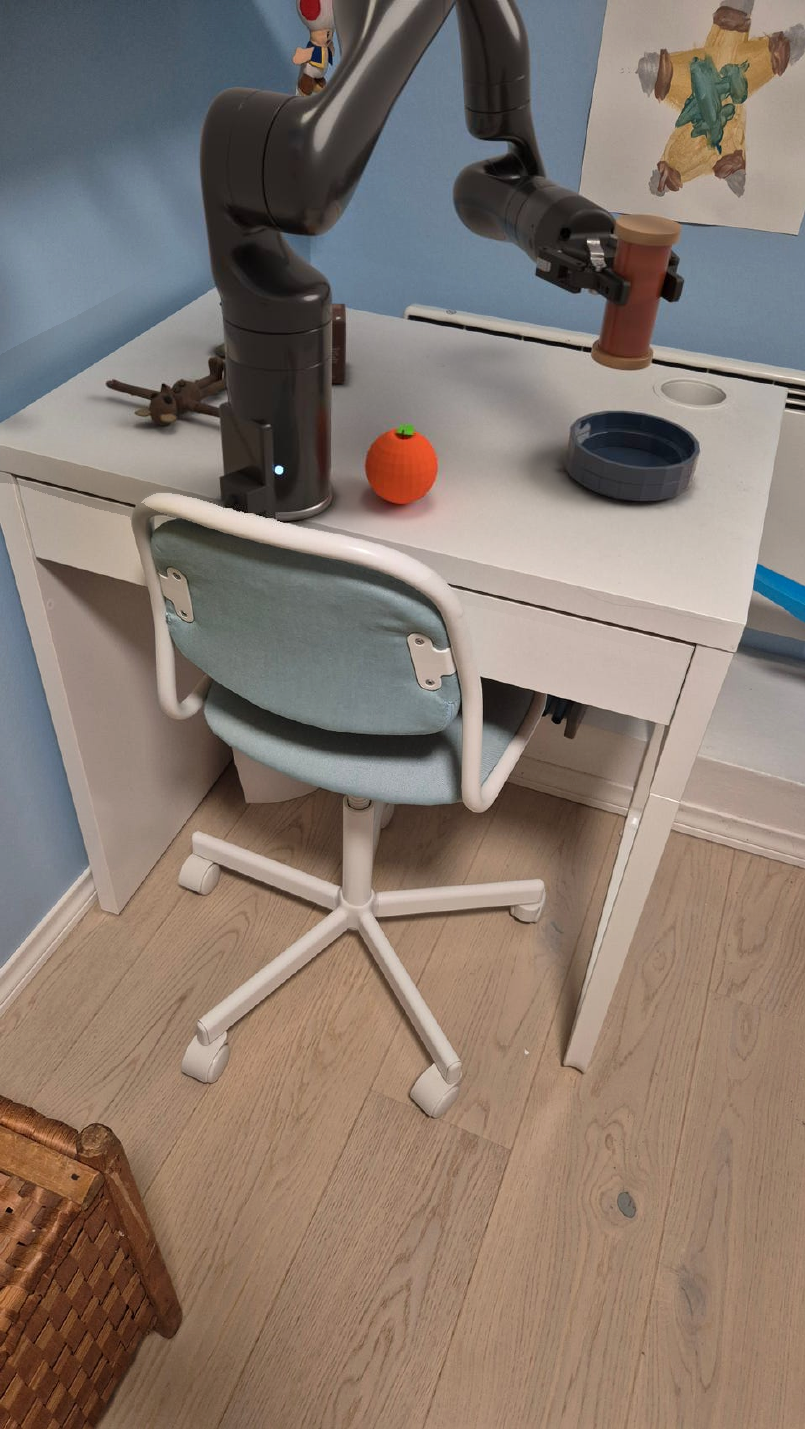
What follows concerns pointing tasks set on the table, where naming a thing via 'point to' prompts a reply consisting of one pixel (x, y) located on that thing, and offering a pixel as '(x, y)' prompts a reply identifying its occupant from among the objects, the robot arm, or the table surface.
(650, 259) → the spool
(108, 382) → the bear figurine
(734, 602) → the table surface
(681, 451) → the bowl
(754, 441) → the table surface
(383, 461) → the clementine
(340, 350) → the box
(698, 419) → the table surface
